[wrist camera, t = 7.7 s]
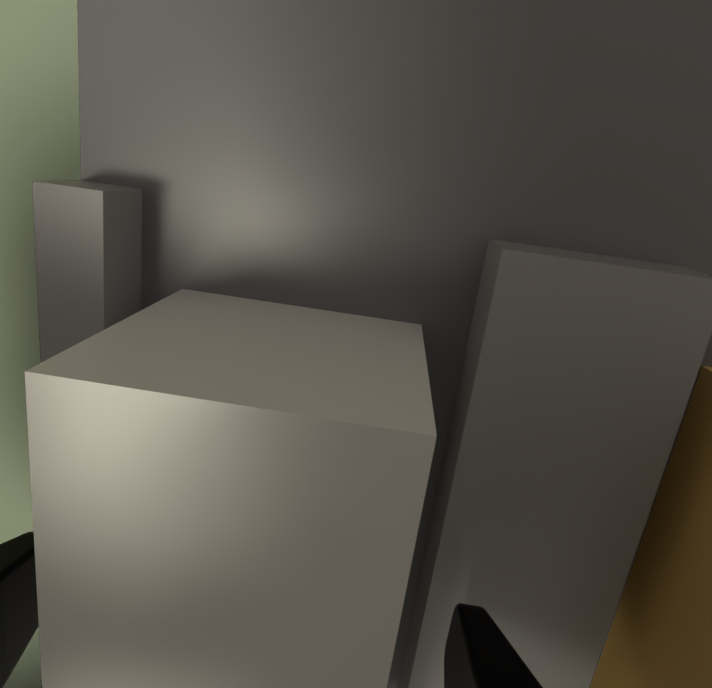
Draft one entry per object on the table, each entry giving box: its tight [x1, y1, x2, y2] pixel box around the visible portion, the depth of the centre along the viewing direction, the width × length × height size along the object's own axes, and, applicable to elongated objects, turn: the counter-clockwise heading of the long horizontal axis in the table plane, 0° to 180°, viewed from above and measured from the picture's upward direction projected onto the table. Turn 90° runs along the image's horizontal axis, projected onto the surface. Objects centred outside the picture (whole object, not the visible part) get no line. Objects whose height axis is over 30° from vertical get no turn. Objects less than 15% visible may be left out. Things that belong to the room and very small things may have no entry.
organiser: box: [32, 0, 712, 688], centre depth 9 cm, size 23×16×3 cm
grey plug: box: [25, 289, 437, 688], centre depth 9 cm, size 4×9×4 cm, turn 172°
